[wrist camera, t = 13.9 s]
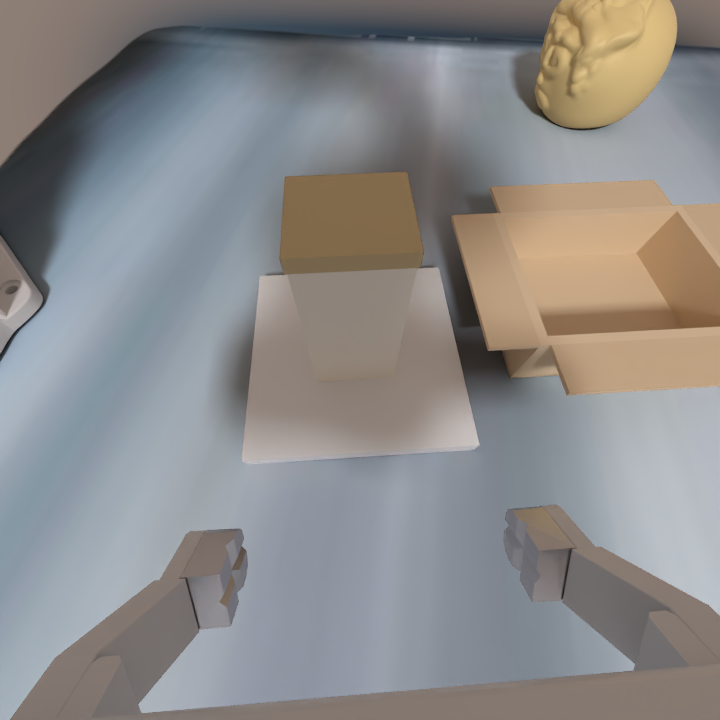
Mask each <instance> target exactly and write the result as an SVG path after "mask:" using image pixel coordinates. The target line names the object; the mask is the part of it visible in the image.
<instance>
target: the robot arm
mask: <svg viewBox="0 0 720 720" xmlns="http://www.w3.org/2000/svg"><path fill="white" fill-rule="evenodd" d="M42 302H43V297H42V295H41V293H40V292H39V290H38V289H37V287H36V286H35V284H34V283H33V281H32V280H31V278H30V277H29V276H28V274H27V273H26V271H25V270H24V268H23V267H22V265H21V264H20V262H19V261H18V260H17V258H16V257H15V255H14V254H13V252H12V251H11V249H10V248H9V246H8V245H7V244H6V242H5V241H4V239H3V238H2V236H1V235H0V353H1V352H2V350H3V348H4V347H5V345H6V343H7V341H8V340H9V338H10V337H11V336H12V334H13V333H14V332H15V331H16V330H17V329H18V328H19V327H20V326H21V325H22V324H23V323H25V322H26V321H27V320H28V319H29V318H30V317H31V316H32V315H33V314H34V313H35V312H36V311H37V310H38V309H39V307H40V306H41V304H42ZM505 520H506V522H507V524H508V525H509V526H508V527H507V528H506V530H505V531H504V540H503V541H504V546H505V551H506V554H507V556H508V559H509V561H510V563H511V564H512V566H513V567H515V568H516V569H517V570H519V571H520V572H521V573H520V581H521V583H522V585H523V586H524V588H525V590H526V592H527V594H528V596H529V597H530V599H531V601H532V602H541V601H562V600H563V603H564V604H565V605H566V606H568V607H569V608H570V609H571V610H572V611H573V612H575V613H576V614H577V615H578V616H579V617H581V618H582V619H583V620H584V621H585V622H586V623H588V624H589V625H590V626H591V627H592V628H594V629H595V630H596V631H597V632H598V633H599V634H601V635H602V636H603V637H604V638H605V639H606V640H608V641H609V642H610V643H611V644H612V645H614V646H615V647H616V648H617V649H618V650H619V651H621V652H622V653H623V654H624V655H625V656H627V657H628V658H629V659H630V660H631V661H632V662H634V663H635V666H634V670H633V671H624V672H613V673H601V674H589V675H578V676H566V677H555V678H543V679H532V680H521V681H509V682H498V683H487V684H476V685H464V686H453V687H442V688H430V689H419V690H407V691H396V692H384V693H372V694H360V695H349V696H337V697H325V698H314V699H302V700H290V701H279V702H267V703H256V704H244V705H233V706H221V707H210V708H198V709H187V710H175V711H163V712H152V713H141V711H140V708H139V705H138V704H139V703H140V702H141V700H142V699H143V698H144V697H145V696H146V694H147V693H148V692H149V691H150V690H151V688H152V687H153V686H154V685H155V684H156V683H157V681H158V680H159V679H160V678H161V677H162V675H163V674H164V673H165V672H166V671H167V669H168V668H169V667H170V666H171V665H172V663H173V662H174V661H175V660H176V659H177V658H178V656H179V655H180V654H181V653H182V652H183V650H184V649H185V648H186V647H187V646H188V644H189V643H190V642H191V641H192V640H193V638H194V637H195V636H196V635H197V634H198V633H199V630H200V629H209V628H218V627H227V626H231V624H232V621H233V618H234V615H235V612H236V608H237V605H238V602H239V601H238V596H237V592H238V591H239V590H240V589H241V588H242V587H243V586H244V582H245V579H246V574H247V567H248V559H247V552H246V550H245V549H244V548H243V547H242V543H243V540H244V536H243V532H242V530H241V529H219V530H207V531H190V532H189V533H188V534H186V535H185V537H184V539H183V541H182V542H181V544H180V546H179V547H178V549H177V551H176V553H175V554H174V556H173V558H172V560H171V561H170V563H169V565H168V566H167V568H166V570H165V572H164V573H163V575H162V577H161V578H160V580H157V581H153V582H152V583H151V584H149V585H148V586H147V587H146V588H144V589H143V590H142V591H140V592H139V593H138V594H137V595H135V596H134V597H133V598H131V599H130V600H129V601H128V602H126V603H125V604H124V605H122V606H121V607H120V608H119V609H117V610H116V611H115V612H113V613H112V614H111V615H110V616H108V617H107V618H106V619H105V620H103V621H102V622H101V623H99V624H98V625H97V626H96V627H94V628H93V629H92V630H90V631H89V632H88V633H87V634H85V635H84V636H83V637H81V638H80V639H79V640H78V641H76V642H75V643H74V644H72V645H71V646H70V647H69V648H67V649H66V650H65V651H64V652H62V653H61V654H60V655H58V656H57V657H56V658H55V659H54V660H53V661H52V663H51V664H50V666H49V667H48V668H47V670H46V671H45V672H44V674H43V675H42V677H41V678H40V679H39V681H38V682H37V683H36V685H35V686H34V687H33V689H32V690H31V692H30V693H29V694H28V696H27V697H26V698H25V700H24V701H23V703H22V704H21V705H20V707H19V708H18V709H17V711H16V712H15V714H14V715H13V716H12V718H11V719H10V720H720V616H719V615H718V614H717V613H716V612H715V611H714V610H713V609H712V608H711V607H710V606H709V605H707V604H705V603H703V602H701V601H699V600H698V599H696V598H694V597H692V596H690V595H688V594H687V593H685V592H683V591H681V590H679V589H677V588H675V587H674V586H672V585H670V584H668V583H666V582H664V581H663V580H661V579H659V578H657V577H655V576H653V575H652V574H650V573H648V572H646V571H644V570H642V569H641V568H639V567H637V566H635V565H633V564H631V563H630V562H628V561H626V560H624V559H622V558H620V557H619V556H617V555H615V554H613V553H611V552H609V551H608V550H606V549H604V548H602V547H595V546H594V545H593V544H592V542H591V541H590V540H589V539H588V538H587V537H586V536H585V534H584V533H583V532H582V531H581V530H580V529H579V528H578V526H577V525H576V524H575V523H574V522H573V521H572V520H571V518H570V517H569V516H568V515H567V514H566V513H565V512H564V511H563V509H562V508H561V507H559V506H558V505H548V506H540V507H526V508H514V509H508V510H507V512H506V516H505Z"/></svg>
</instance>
